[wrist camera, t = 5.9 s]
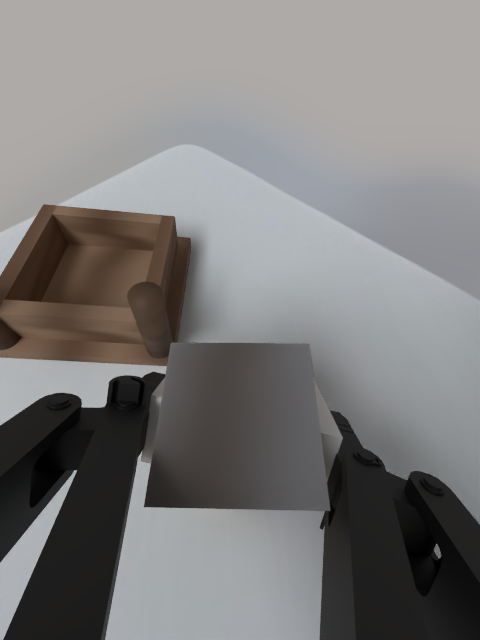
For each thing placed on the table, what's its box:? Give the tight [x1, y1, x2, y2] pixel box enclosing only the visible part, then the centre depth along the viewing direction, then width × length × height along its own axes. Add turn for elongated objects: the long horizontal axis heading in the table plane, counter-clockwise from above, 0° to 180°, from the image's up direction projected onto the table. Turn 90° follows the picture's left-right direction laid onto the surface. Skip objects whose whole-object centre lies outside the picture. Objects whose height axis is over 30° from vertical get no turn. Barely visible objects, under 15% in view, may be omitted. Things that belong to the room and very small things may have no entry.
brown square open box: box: [0, 205, 191, 366], centre depth 20 cm, size 12×12×7 cm
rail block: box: [144, 343, 330, 511], centre depth 13 cm, size 5×5×11 cm
